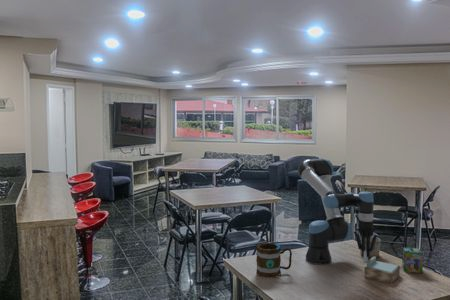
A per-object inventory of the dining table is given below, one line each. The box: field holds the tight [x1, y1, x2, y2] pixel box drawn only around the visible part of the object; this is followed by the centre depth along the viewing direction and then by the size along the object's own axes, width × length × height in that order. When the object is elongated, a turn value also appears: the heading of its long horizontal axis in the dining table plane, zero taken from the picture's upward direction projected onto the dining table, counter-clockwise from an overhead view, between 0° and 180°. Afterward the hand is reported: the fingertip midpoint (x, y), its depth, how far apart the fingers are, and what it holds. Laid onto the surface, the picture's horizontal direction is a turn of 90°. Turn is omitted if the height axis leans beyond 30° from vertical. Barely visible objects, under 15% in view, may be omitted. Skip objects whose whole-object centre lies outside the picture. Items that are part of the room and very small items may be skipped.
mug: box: [256, 242, 293, 279], centre depth 213 cm, size 20×14×15 cm
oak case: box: [363, 260, 401, 284], centre depth 208 cm, size 14×14×5 cm
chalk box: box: [401, 242, 424, 274], centre depth 216 cm, size 9×9×15 cm
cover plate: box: [365, 257, 399, 274], centre depth 207 cm, size 13×12×4 cm
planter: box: [359, 236, 381, 259], centre depth 241 cm, size 13×13×10 cm
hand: (365, 262), depth 213 cm, fingers closed
